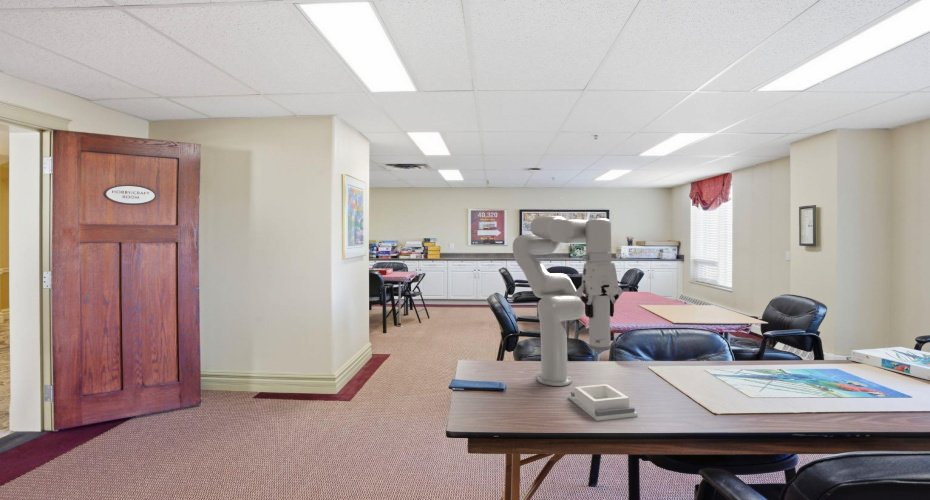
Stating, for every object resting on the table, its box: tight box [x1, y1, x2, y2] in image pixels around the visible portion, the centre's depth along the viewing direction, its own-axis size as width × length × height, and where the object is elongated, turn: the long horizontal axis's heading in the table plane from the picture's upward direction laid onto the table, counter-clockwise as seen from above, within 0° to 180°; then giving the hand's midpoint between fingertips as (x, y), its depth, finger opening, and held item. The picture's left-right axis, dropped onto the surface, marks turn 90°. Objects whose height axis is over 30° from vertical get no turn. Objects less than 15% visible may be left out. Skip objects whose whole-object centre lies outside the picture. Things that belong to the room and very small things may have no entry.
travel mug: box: [588, 285, 611, 352], centre depth 125 cm, size 6×7×20 cm
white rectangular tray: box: [568, 383, 639, 422], centre depth 125 cm, size 18×13×4 cm
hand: (599, 315), depth 125 cm, fingers closed on travel mug, 6 cm apart
